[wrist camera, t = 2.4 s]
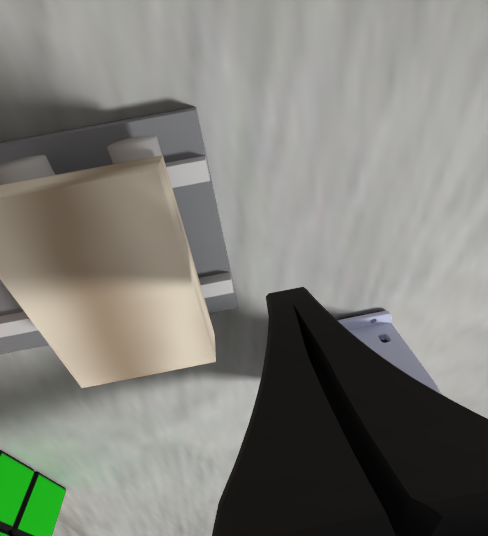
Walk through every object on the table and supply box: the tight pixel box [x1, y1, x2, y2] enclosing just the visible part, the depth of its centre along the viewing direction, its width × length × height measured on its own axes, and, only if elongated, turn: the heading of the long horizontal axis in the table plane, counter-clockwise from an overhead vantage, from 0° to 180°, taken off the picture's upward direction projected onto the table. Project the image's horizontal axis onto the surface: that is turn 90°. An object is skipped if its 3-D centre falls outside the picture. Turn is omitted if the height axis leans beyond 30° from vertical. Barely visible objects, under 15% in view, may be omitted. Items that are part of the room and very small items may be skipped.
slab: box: [0, 135, 216, 388], centre depth 15 cm, size 7×11×4 cm, turn 8°
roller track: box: [0, 107, 238, 354], centre depth 16 cm, size 20×12×6 cm, turn 98°
